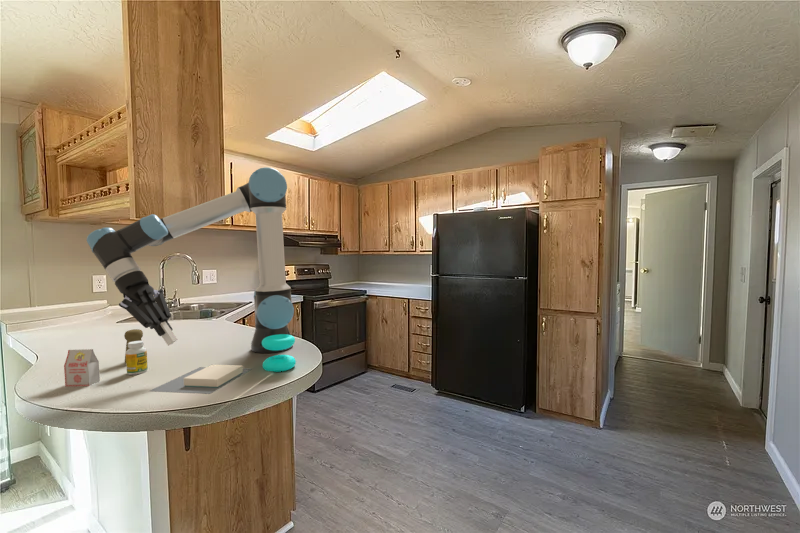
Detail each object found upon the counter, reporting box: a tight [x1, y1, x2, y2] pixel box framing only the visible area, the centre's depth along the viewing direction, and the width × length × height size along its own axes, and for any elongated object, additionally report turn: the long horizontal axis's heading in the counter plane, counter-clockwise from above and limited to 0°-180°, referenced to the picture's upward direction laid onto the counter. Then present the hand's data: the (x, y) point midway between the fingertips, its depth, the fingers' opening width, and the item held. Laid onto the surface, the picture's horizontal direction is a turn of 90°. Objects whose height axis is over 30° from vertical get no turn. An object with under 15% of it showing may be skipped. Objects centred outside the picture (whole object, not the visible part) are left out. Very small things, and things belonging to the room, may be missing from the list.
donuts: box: [262, 334, 297, 373], centre depth 117 cm, size 10×10×10 cm
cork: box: [123, 328, 144, 365], centre depth 128 cm, size 6×6×11 cm
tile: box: [184, 364, 244, 388], centre depth 106 cm, size 2×12×10 cm
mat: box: [149, 366, 253, 395], centre depth 107 cm, size 18×20×1 cm
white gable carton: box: [63, 348, 101, 387], centre depth 106 cm, size 4×7×10 cm, turn 90°
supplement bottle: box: [125, 340, 149, 376], centre depth 116 cm, size 5×5×10 cm
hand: (172, 342), depth 109 cm, fingers closed
